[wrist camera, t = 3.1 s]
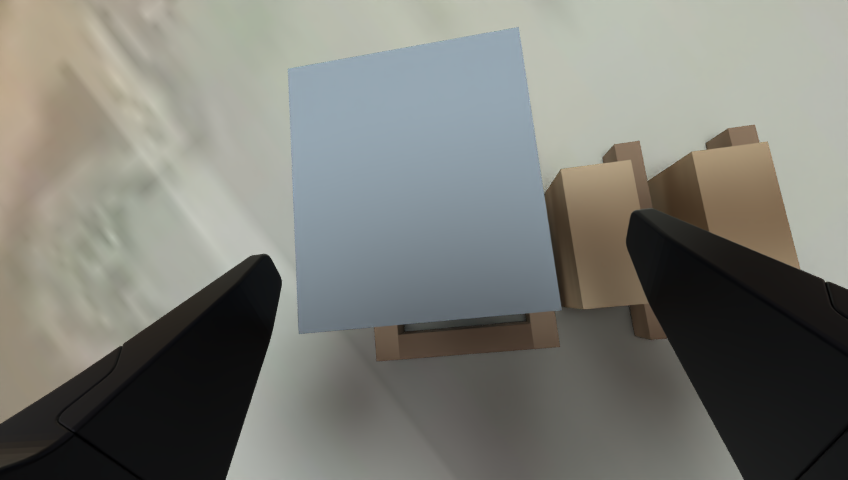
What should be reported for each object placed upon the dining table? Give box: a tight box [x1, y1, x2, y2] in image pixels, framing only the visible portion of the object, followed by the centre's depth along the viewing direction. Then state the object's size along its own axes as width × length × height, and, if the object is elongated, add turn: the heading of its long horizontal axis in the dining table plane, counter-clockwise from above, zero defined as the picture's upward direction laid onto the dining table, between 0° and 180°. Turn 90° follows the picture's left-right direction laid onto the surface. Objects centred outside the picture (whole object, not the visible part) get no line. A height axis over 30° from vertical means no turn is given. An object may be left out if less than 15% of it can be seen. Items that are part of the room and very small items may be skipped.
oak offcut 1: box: [544, 160, 649, 309], centre depth 15 cm, size 5×2×4 cm, turn 6°
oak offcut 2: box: [648, 142, 800, 269], centre depth 14 cm, size 5×2×4 cm, turn 6°
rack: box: [374, 125, 759, 361], centre depth 16 cm, size 8×16×2 cm, turn 96°
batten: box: [288, 27, 562, 334], centre depth 11 cm, size 4×4×12 cm
